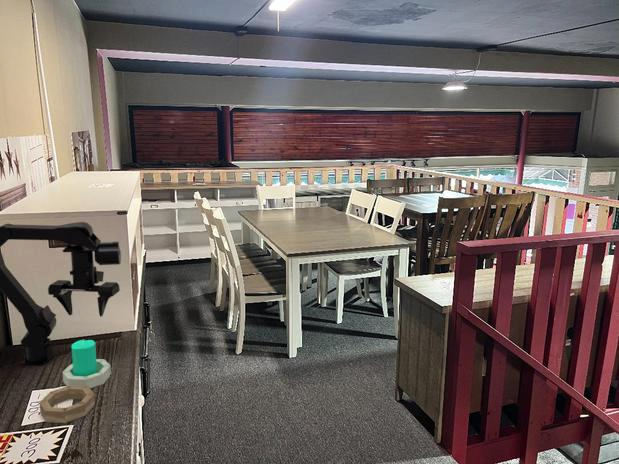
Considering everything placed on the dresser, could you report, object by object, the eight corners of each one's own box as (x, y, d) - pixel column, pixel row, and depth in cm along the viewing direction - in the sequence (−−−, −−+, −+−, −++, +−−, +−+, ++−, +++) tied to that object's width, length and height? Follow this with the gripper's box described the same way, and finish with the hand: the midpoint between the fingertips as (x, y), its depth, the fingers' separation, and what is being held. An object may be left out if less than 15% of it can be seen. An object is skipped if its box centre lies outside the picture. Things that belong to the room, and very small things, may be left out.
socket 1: (56, 388, 119) (55, 378, 118) (77, 367, 130) (77, 358, 129) (98, 390, 119) (97, 380, 118) (115, 369, 130) (115, 359, 129)
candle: (94, 384, 122) (92, 343, 119) (70, 385, 121) (67, 344, 118) (99, 372, 128) (97, 333, 125) (76, 374, 126) (74, 334, 124)
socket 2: (32, 421, 105) (31, 410, 105) (58, 395, 116) (57, 384, 115) (79, 423, 105) (78, 412, 105) (100, 396, 116) (100, 386, 116)
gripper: (125, 259, 139) (127, 306, 142) (65, 257, 139) (69, 304, 142) (110, 270, 128) (112, 320, 131) (44, 267, 128) (49, 318, 131)
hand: (86, 315), depth 134 cm, fingers open, 9 cm apart
